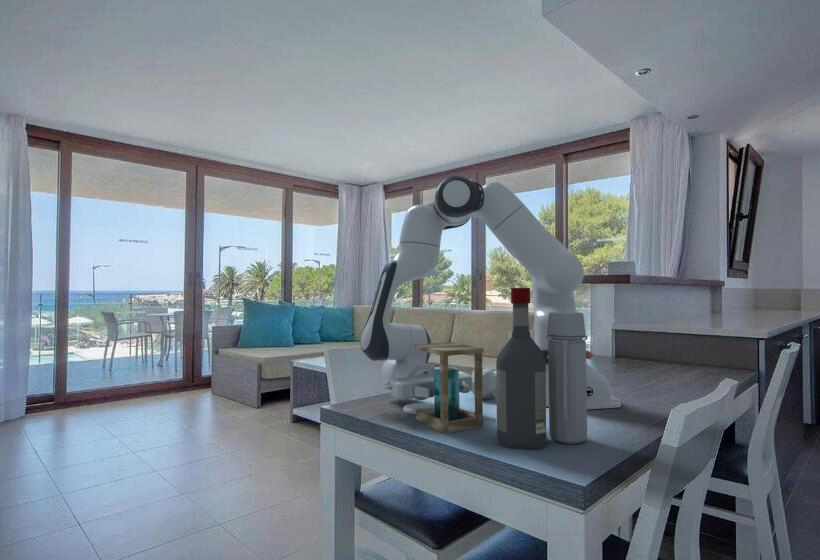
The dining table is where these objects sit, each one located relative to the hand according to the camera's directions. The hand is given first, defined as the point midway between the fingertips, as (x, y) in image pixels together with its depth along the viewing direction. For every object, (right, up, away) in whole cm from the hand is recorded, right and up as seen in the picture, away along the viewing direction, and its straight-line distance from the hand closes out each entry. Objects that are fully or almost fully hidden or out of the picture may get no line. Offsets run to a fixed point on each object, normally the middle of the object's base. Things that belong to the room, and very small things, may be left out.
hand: (449, 391), depth 104 cm
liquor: (+13, -7, -13) cm, 20 cm away
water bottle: (+22, -7, -13) cm, 26 cm away
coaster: (-6, -7, +11) cm, 15 cm away
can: (0, -7, +1) cm, 7 cm away
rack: (0, -7, +1) cm, 7 cm away
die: (+12, -8, +24) cm, 28 cm away
